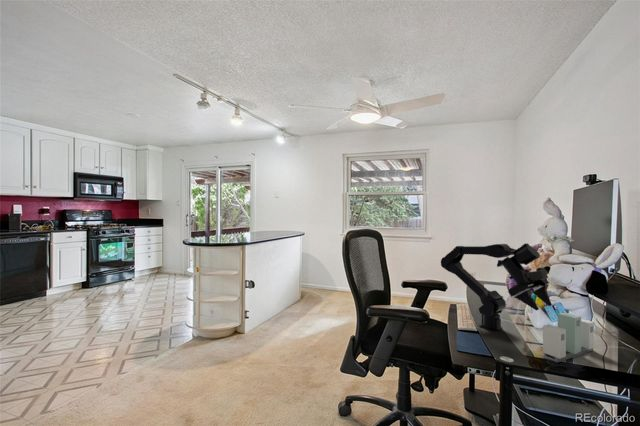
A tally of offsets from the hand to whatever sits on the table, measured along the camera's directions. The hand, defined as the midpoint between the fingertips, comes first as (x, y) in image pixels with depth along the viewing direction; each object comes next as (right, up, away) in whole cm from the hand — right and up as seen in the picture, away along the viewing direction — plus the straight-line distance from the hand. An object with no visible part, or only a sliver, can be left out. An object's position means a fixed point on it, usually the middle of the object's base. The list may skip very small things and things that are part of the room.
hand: (544, 307), depth 113 cm
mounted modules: (+3, -12, -8) cm, 15 cm away
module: (+3, -12, -8) cm, 15 cm away
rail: (+3, -14, -8) cm, 16 cm away
